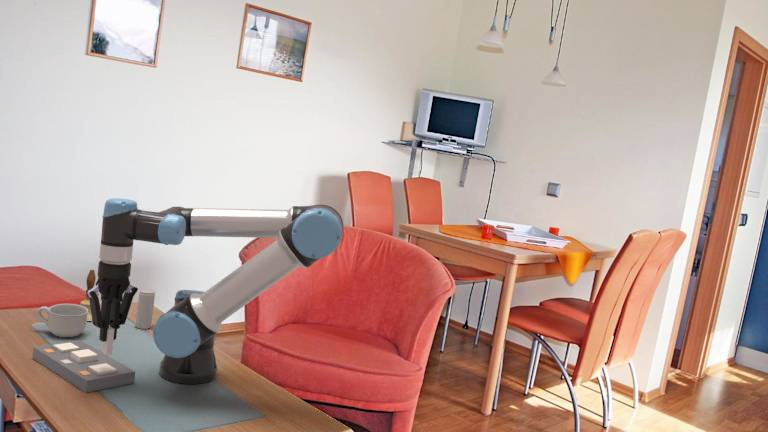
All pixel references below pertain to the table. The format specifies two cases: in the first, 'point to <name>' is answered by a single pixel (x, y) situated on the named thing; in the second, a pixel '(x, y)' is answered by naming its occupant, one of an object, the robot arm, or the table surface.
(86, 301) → the hand bell
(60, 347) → the button
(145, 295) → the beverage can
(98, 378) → the key board
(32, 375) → the table surface
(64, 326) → the teacup
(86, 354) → the button middle
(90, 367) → the button
